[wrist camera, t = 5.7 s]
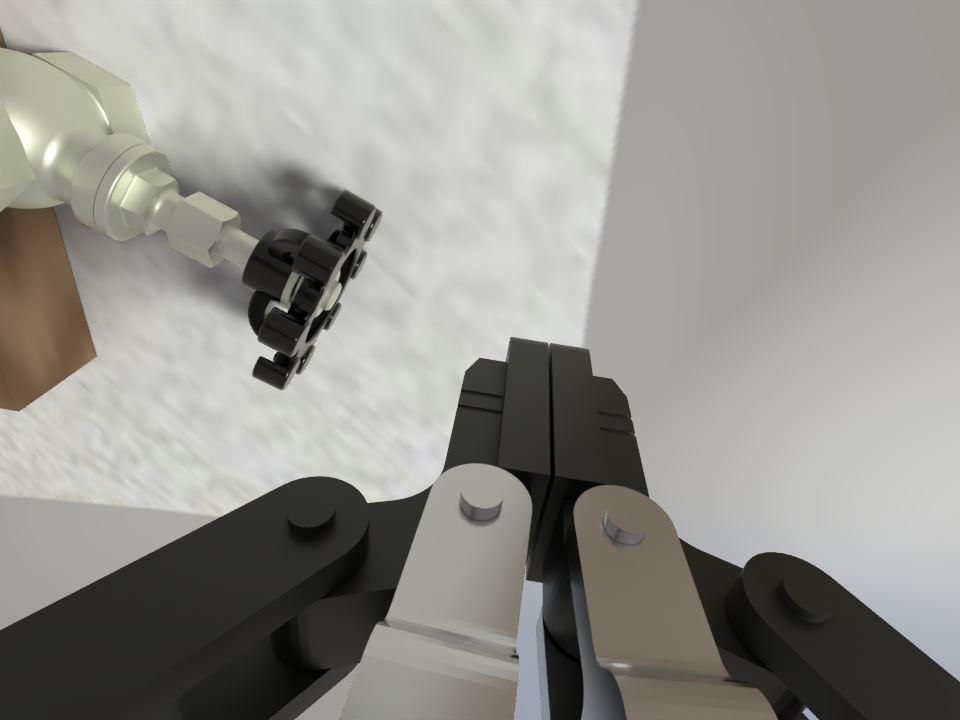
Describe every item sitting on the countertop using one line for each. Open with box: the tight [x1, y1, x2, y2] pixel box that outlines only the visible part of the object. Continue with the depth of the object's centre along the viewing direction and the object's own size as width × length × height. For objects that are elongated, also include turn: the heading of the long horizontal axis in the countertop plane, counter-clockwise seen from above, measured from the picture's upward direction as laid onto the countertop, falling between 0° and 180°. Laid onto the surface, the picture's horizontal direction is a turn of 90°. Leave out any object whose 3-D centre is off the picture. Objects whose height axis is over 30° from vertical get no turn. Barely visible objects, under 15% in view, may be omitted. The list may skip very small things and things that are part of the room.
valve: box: [0, 48, 382, 390], centre depth 16 cm, size 7×7×12 cm
